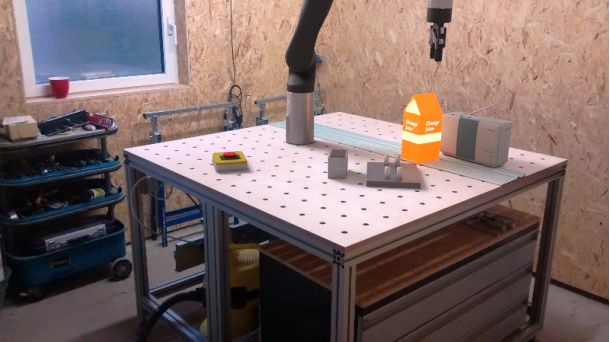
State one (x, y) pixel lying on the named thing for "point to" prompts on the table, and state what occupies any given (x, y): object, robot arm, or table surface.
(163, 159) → the table surface
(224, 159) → the emergency button
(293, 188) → the table surface
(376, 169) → the pin tray
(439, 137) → the orange juice
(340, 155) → the grey boxy piece
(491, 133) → the stereo radio cassette player
